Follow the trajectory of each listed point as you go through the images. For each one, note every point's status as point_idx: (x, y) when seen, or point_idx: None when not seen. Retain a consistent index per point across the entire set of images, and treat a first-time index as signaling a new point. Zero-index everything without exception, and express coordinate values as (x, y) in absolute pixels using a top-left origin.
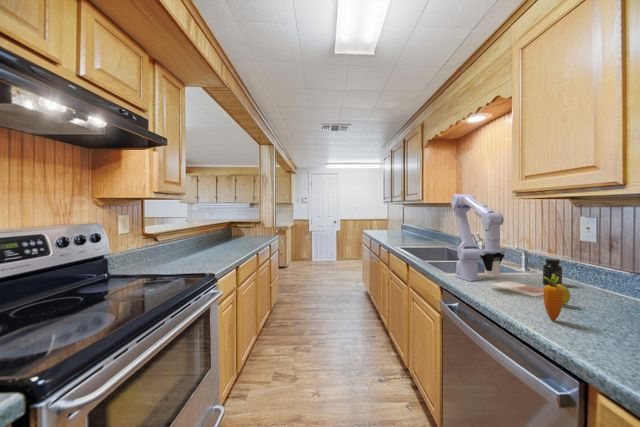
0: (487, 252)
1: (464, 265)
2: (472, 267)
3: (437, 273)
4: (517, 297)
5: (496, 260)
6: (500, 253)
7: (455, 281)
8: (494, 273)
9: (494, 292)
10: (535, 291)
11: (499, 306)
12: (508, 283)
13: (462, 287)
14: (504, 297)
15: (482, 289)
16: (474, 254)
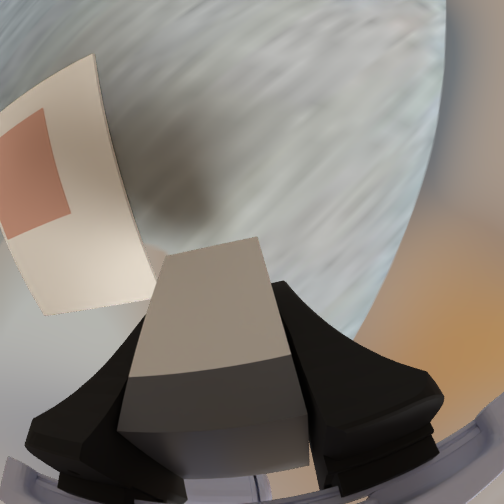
0: (474, 465)
1: None
2: None
3: None
4: (202, 54)
5: (208, 381)
6: (68, 480)
7: None
8: (243, 252)
9: (263, 166)
10: (28, 135)
11: (413, 13)
12: (66, 289)
13: (358, 283)
14: (286, 72)
15: (287, 234)
16: (195, 495)
